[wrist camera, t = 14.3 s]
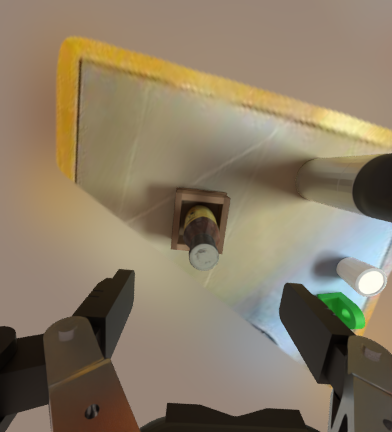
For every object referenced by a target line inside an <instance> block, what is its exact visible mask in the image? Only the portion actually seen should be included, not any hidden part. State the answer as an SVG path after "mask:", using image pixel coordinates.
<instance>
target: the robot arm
mask: <svg viewBox="0 0 392 432" xmlns="http://www.w3.org/2000/svg"><path fill="white" fill-rule="evenodd" d="M296 188H297V191H298V192H299V194H300V195H301V196H302V197H303V198H305V199H308V200H311V201H314V202H318V203H321V204H325V205H328V206H332V207H336V208H339V209H343V210H346V211H350V212H354V213H357V214H361V215H365V216H368V217H372V218H375V219H380V220H384V221H388V222H392V153H391V154H376V155H363V156H349V157H334V158H319V159H313V160H310V161H308V162H306V163H305V164H304V165H303V166H302V167H301V168H300V169H299V171H298V173H297V176H296ZM134 278H135V273H134V270H124V269H119V270H118V271H117V273H116V274H115V275H114V277H113V278H106V279H104V280H103V281H101V282H100V283H98V284H97V286H96V287H95V288H94V289H93V291H92V292H91V293H90V294H89V295H88V297H87V298H86V299H85V300H84V301H83V303H82V304H81V305H80V306H79V308H78V309H77V310H76V311H75V313H74V314H73V315H72V316H71V317H67V318H64V319H61V320H59V321H57V322H55V323H54V324H52V325H51V326H50V327H49V328H48V329H47V330H46V332H45V333H44V334H40V335H34V336H28V337H23V338H16V332H15V330H14V329H13V328H11V327H6V326H1V327H0V432H5V431H6V430H7V428H8V427H9V425H10V423H11V422H12V420H13V419H14V417H15V416H16V414H17V413H18V412H22V411H25V410H29V409H33V408H36V407H40V406H44V405H47V404H48V405H49V415H50V426H51V432H320V431H318V430H316V429H314V428H312V427H310V426H307V425H305V423H304V420H303V418H302V416H301V414H300V411H299V410H290V409H271V408H266V409H263V410H259V411H256V412H253V413H249V414H245V415H241V416H231V415H228V414H225V413H222V412H220V411H217V410H214V409H211V408H208V407H205V406H202V405H197V404H178V403H167V409H166V416H165V417H161V418H158V419H156V420H154V421H151V422H149V423H148V424H146V425H144V426H143V427H141V428H140V429H139V427H138V425H137V422H136V420H135V417H134V415H133V412H132V410H131V407H130V405H129V403H128V400H127V398H126V396H125V393H124V391H123V388H122V386H121V384H120V381H119V378H118V376H117V374H116V371H115V369H114V366H113V364H112V362H111V360H110V359H111V356H112V354H113V352H114V350H115V347H116V345H117V342H118V340H119V338H120V335H121V333H122V330H123V328H124V326H125V323H126V321H127V319H128V316H129V314H130V312H131V309H132V306H133V301H134ZM279 315H280V319H281V322H282V323H283V325H284V327H285V328H286V330H287V332H288V334H289V335H290V337H291V339H292V340H293V342H294V344H295V346H296V347H297V349H298V351H299V352H300V354H301V356H302V358H303V359H304V361H305V363H306V364H307V366H308V368H309V370H310V371H311V373H312V375H313V376H314V378H315V380H316V382H317V383H318V384H331V386H332V387H333V389H332V392H331V397H330V409H329V421H328V432H392V354H391V353H390V352H389V351H388V350H387V349H385V348H384V347H383V346H381V345H380V344H378V343H376V342H375V341H372V340H371V339H368V338H365V337H362V336H357V335H355V334H354V333H353V332H352V331H351V330H350V329H349V328H348V327H347V326H346V325H345V324H344V323H343V322H342V321H341V319H340V318H339V317H338V316H335V313H334V312H333V311H332V310H330V309H329V307H328V306H327V305H326V304H325V303H324V302H323V301H322V300H320V299H319V298H317V297H316V296H314V295H313V294H311V293H310V292H309V291H308V290H307V289H306V288H305V287H304V286H303V285H302V284H297V283H286V284H285V285H284V289H283V294H282V298H281V303H280V308H279Z"/></svg>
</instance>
